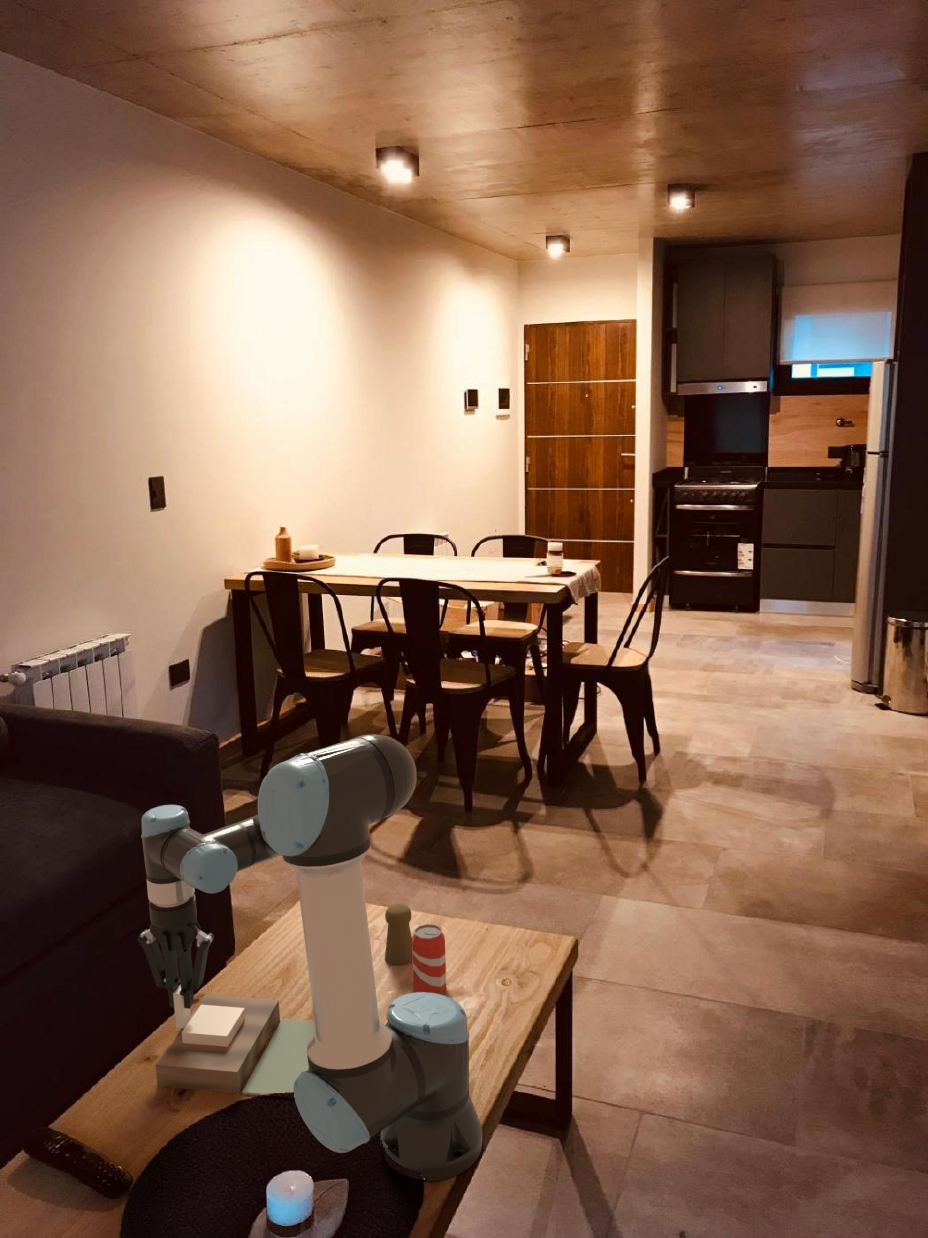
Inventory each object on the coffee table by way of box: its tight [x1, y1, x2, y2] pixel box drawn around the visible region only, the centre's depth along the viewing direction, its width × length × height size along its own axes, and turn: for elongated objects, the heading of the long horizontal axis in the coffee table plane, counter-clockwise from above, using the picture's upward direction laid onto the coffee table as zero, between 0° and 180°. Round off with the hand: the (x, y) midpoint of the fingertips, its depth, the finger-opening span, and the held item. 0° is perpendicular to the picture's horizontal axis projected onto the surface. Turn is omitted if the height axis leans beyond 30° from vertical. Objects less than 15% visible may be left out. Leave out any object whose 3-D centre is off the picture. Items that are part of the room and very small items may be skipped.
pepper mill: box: [384, 903, 413, 967], centre depth 202 cm, size 6×6×11 cm
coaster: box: [182, 1005, 245, 1047], centre depth 175 cm, size 8×8×2 cm
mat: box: [241, 1017, 316, 1096], centre depth 173 cm, size 20×15×1 cm
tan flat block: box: [155, 994, 281, 1094], centre depth 175 cm, size 20×14×4 cm
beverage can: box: [411, 923, 447, 994], centre depth 191 cm, size 6×6×12 cm
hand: (183, 1023), depth 175 cm, fingers closed
